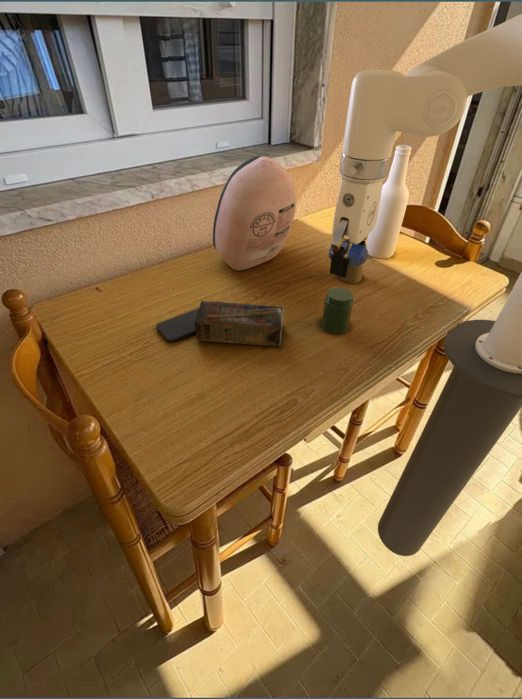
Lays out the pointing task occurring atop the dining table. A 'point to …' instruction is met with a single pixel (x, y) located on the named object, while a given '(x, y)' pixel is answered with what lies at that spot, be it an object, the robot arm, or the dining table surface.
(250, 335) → the beverage carton
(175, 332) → the phone
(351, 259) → the jar lid
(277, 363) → the dining table surface
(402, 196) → the alcohol
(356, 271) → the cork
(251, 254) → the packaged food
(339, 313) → the jam jar
